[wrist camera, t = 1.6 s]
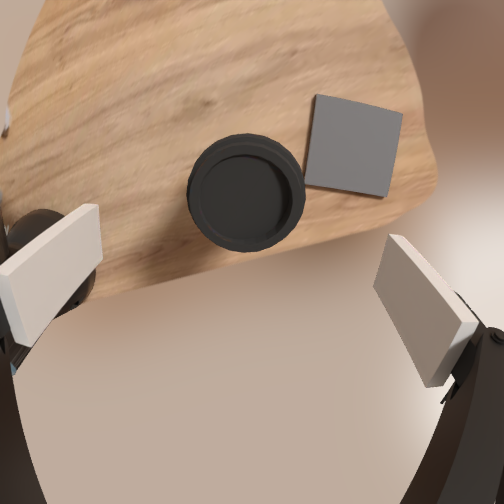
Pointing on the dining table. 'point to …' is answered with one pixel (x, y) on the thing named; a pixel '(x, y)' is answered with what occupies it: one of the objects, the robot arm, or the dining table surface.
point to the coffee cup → (246, 192)
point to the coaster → (352, 146)
